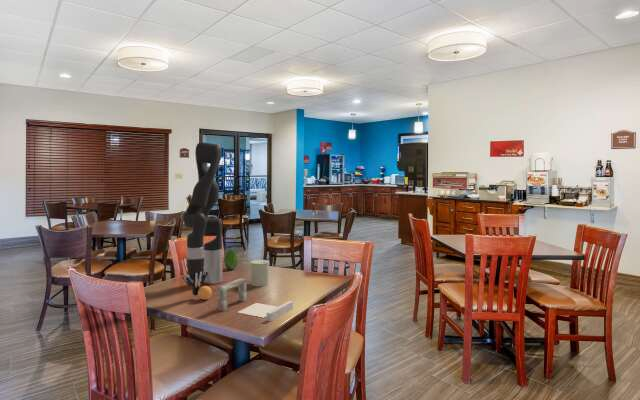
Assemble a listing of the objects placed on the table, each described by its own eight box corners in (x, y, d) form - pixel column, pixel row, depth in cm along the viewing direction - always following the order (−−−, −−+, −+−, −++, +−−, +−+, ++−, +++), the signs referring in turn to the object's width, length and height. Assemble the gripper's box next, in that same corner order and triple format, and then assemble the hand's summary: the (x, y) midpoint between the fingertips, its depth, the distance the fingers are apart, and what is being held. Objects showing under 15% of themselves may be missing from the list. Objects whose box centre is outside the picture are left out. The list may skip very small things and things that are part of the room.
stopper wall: (266, 320, 149) (266, 312, 149) (288, 307, 164) (288, 300, 163) (270, 321, 148) (270, 313, 148) (292, 308, 163) (292, 301, 162)
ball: (195, 300, 173) (194, 287, 173) (204, 296, 178) (204, 283, 178) (205, 302, 170) (204, 288, 170) (214, 298, 176) (214, 285, 175)
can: (265, 287, 194) (265, 263, 193) (248, 285, 196) (248, 262, 195) (271, 282, 203) (271, 259, 202) (255, 281, 205) (254, 258, 204)
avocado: (233, 271, 226) (233, 250, 225) (221, 270, 228) (221, 249, 228) (240, 268, 233) (240, 248, 233) (229, 267, 236) (228, 247, 235)
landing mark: (237, 312, 158) (237, 312, 158) (256, 303, 169) (256, 302, 169) (263, 318, 152) (263, 317, 152) (281, 308, 163) (281, 307, 163)
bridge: (218, 309, 161) (218, 286, 160) (241, 299, 174) (241, 278, 174) (223, 310, 160) (223, 287, 159) (246, 300, 173) (246, 279, 172)
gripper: (200, 253, 182) (201, 290, 183) (177, 258, 171) (178, 297, 171) (212, 255, 178) (212, 292, 179) (189, 260, 167) (190, 300, 168)
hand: (195, 294), depth 175 cm, fingers closed
